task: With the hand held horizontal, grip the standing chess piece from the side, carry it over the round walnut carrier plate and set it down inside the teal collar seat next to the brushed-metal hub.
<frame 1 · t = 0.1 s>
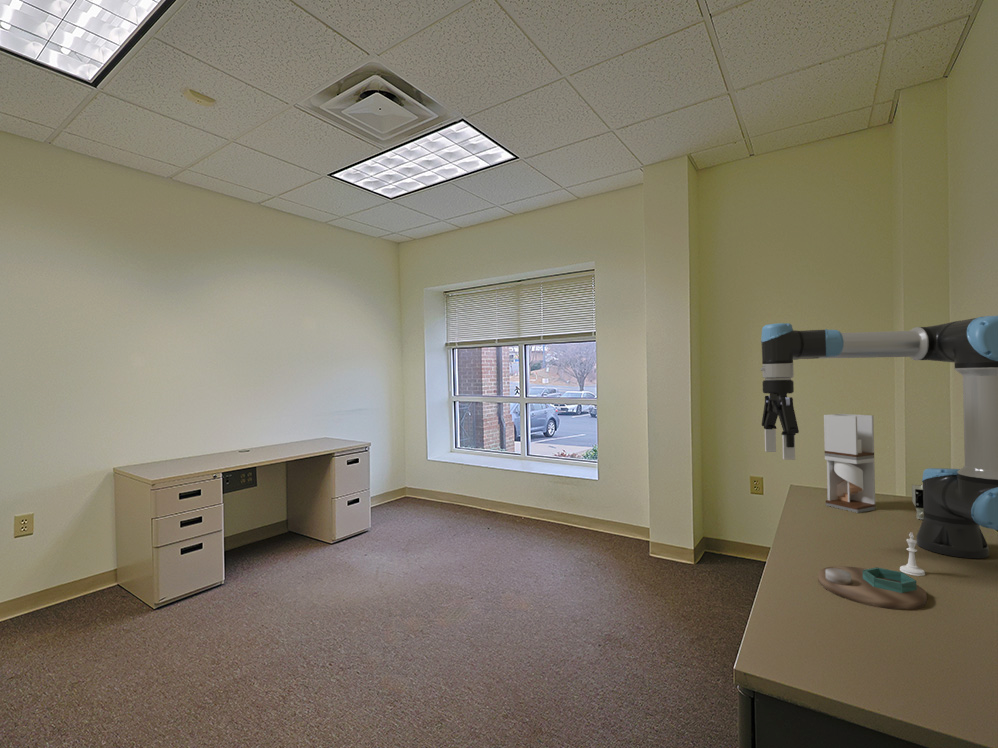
hand: (779, 455, 135), 28 cm above the table, tool pointing down, fingers open, 13 cm apart
pneumatic valve: (924, 520, 167), on the table
chess piece: (912, 572, 123), on the table
carrier: (869, 589, 113), on the table
spiral staircase model: (850, 508, 183), on the table
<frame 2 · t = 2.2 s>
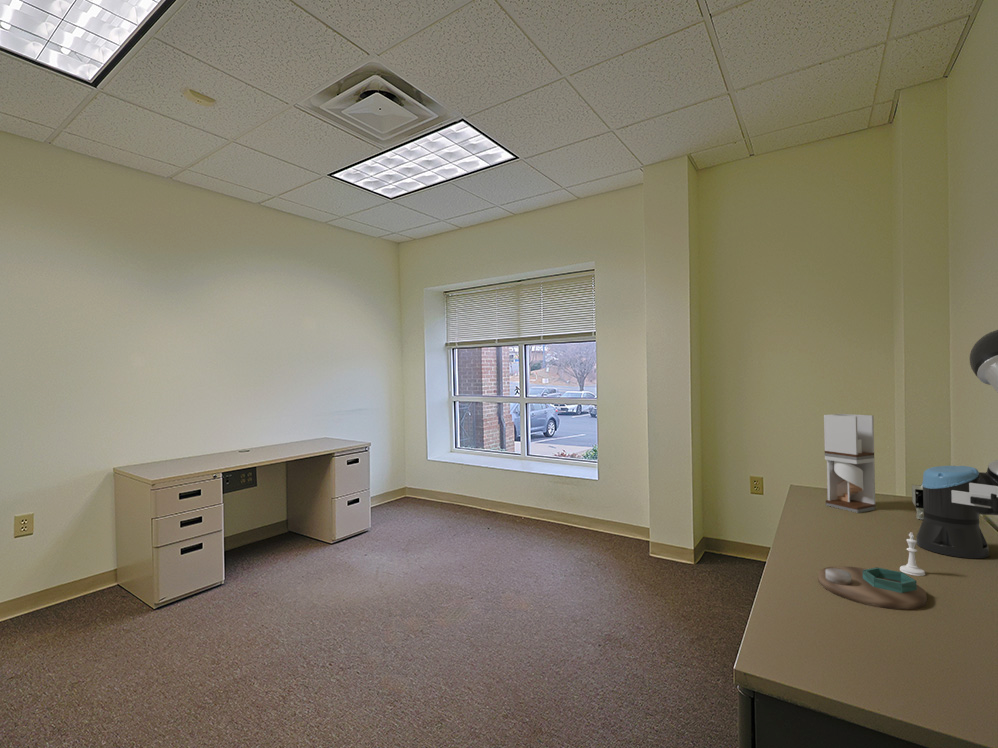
hand: (960, 492, 115), 22 cm above the table, tool horizontal, fingers open, 13 cm apart
nothing on the table moved.
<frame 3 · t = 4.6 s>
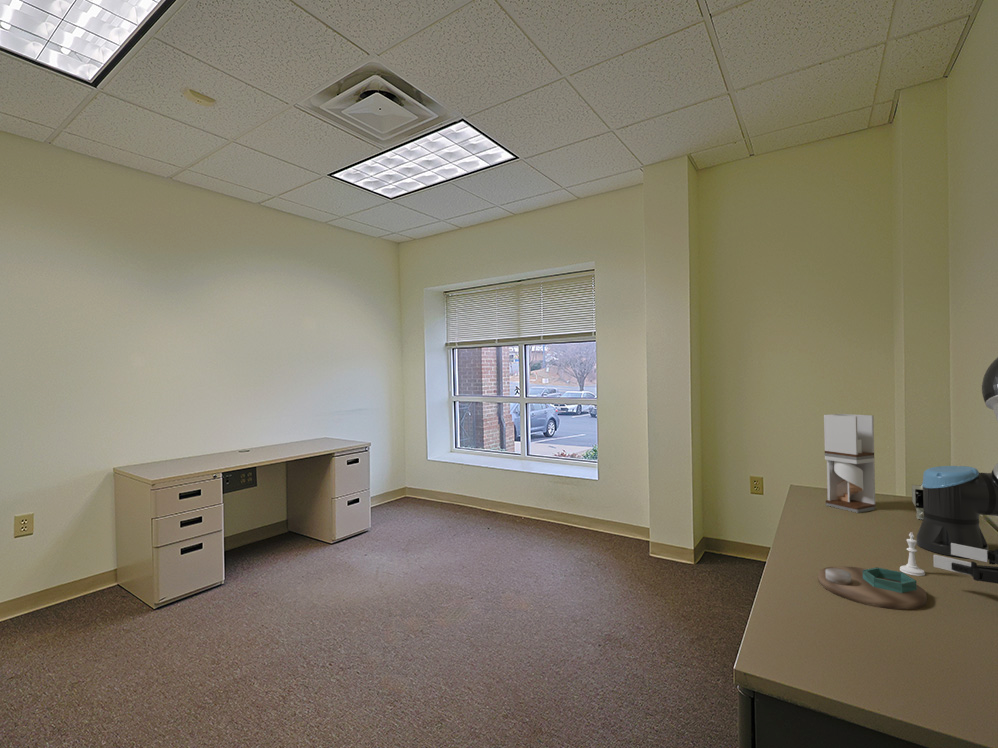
hand: (942, 554, 117), 6 cm above the table, tool horizontal, fingers open, 13 cm apart
nothing on the table moved.
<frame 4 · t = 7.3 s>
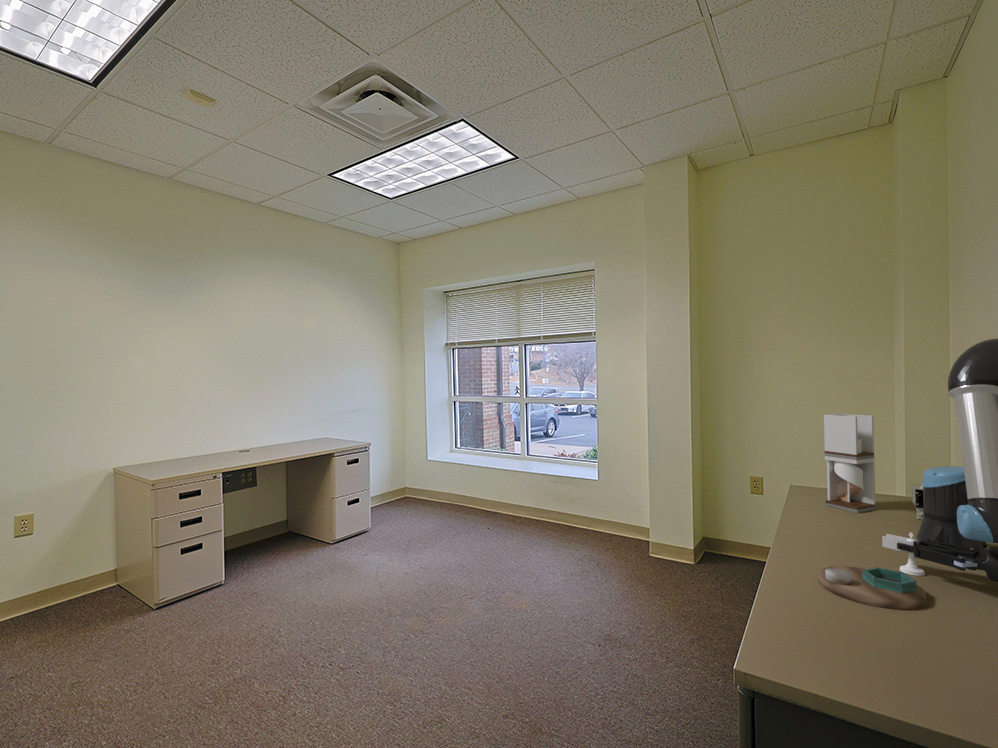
hand: (885, 540, 127), 7 cm above the table, tool horizontal, fingers closed on chess piece, 2 cm apart
chess piece: (912, 572, 123), on the table, touching gripper
everything else where it was.
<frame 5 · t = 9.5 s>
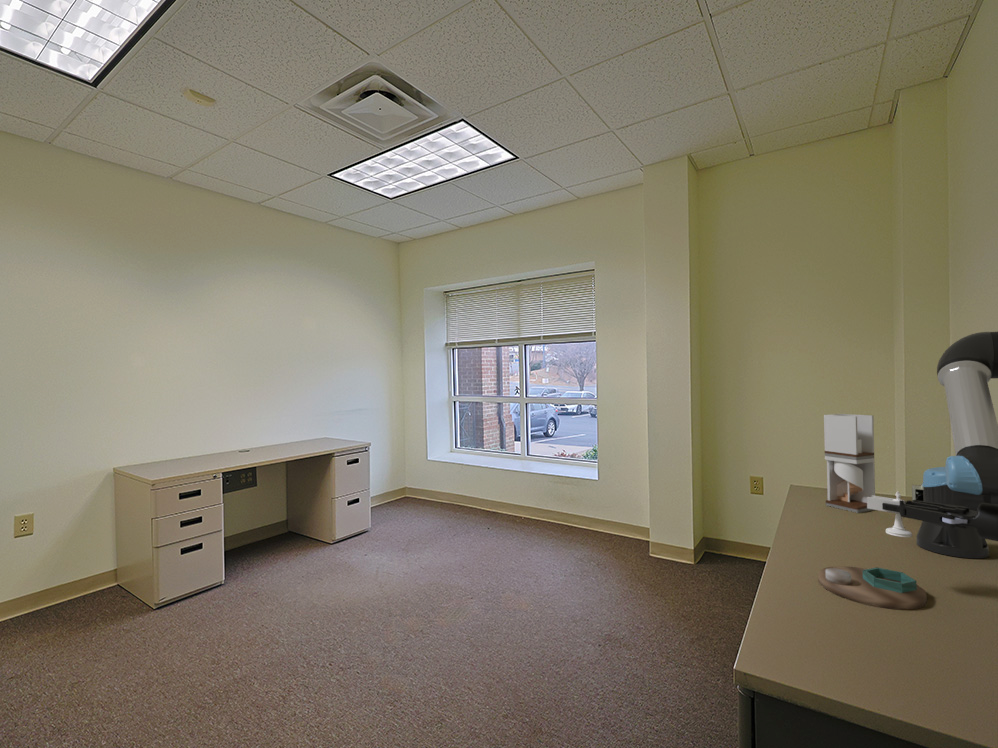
hand: (870, 501, 120), 19 cm above the table, tool horizontal, fingers closed on chess piece, 2 cm apart
chess piece: (898, 534, 115), point 12 cm above the table, touching gripper
everything else where it was.
when the fingers open (9 cm above the table, at t = 12.2 s): chess piece stays where it is, resting on carrier.
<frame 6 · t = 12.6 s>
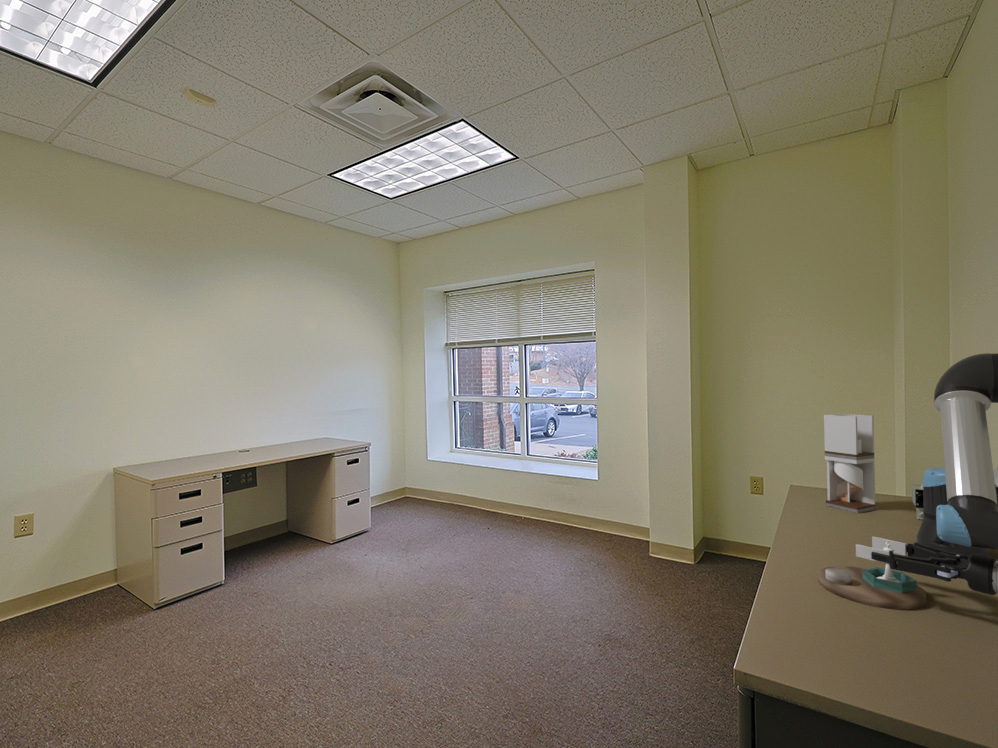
hand: (864, 546, 116), 9 cm above the table, tool horizontal, fingers open, 9 cm apart
chess piece: (889, 584, 112), point 1 cm above the table, touching carrier
everything else where it was.
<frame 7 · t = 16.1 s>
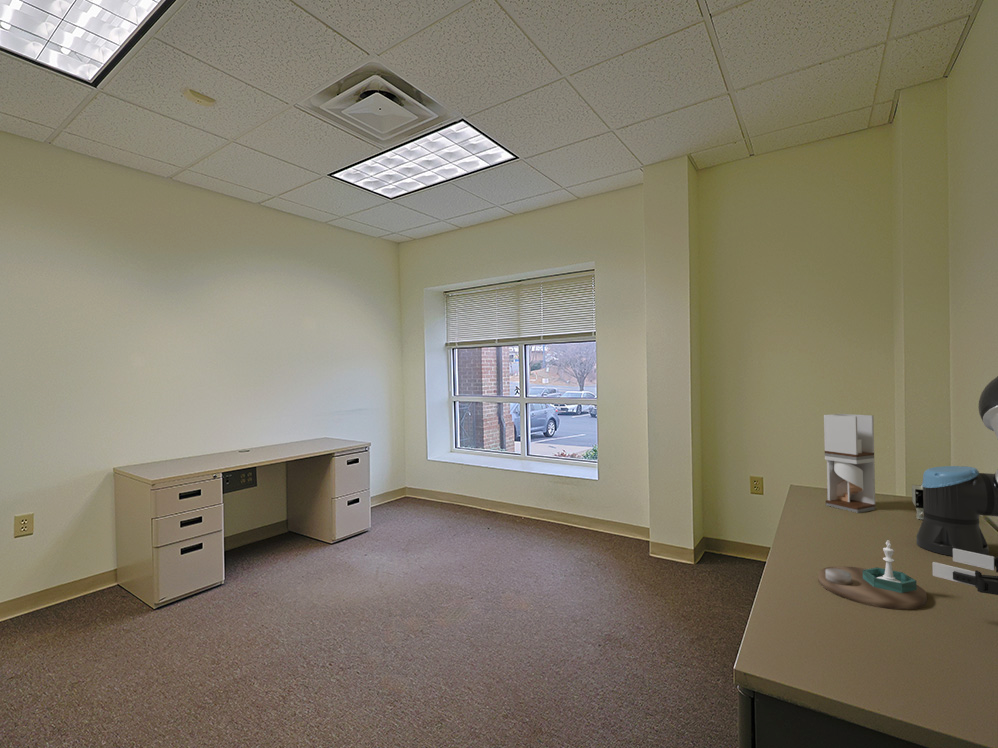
hand: (943, 561, 104), 10 cm above the table, tool horizontal, fingers open, 13 cm apart
nothing on the table moved.
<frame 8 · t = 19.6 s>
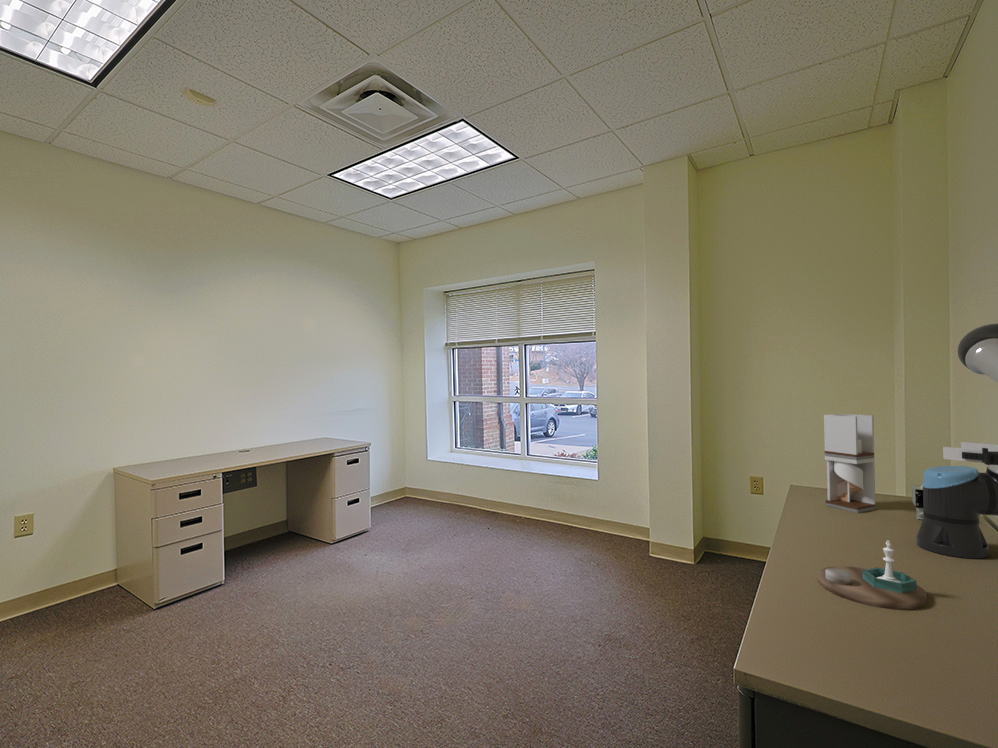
hand: (952, 450, 115), 32 cm above the table, tool horizontal, fingers open, 13 cm apart
nothing on the table moved.
at the end: chess piece 0.0 cm from the target spot on the carrier, point 1.3 cm above the carrier's base; chess piece tilted 0°; the gripper is holding nothing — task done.
